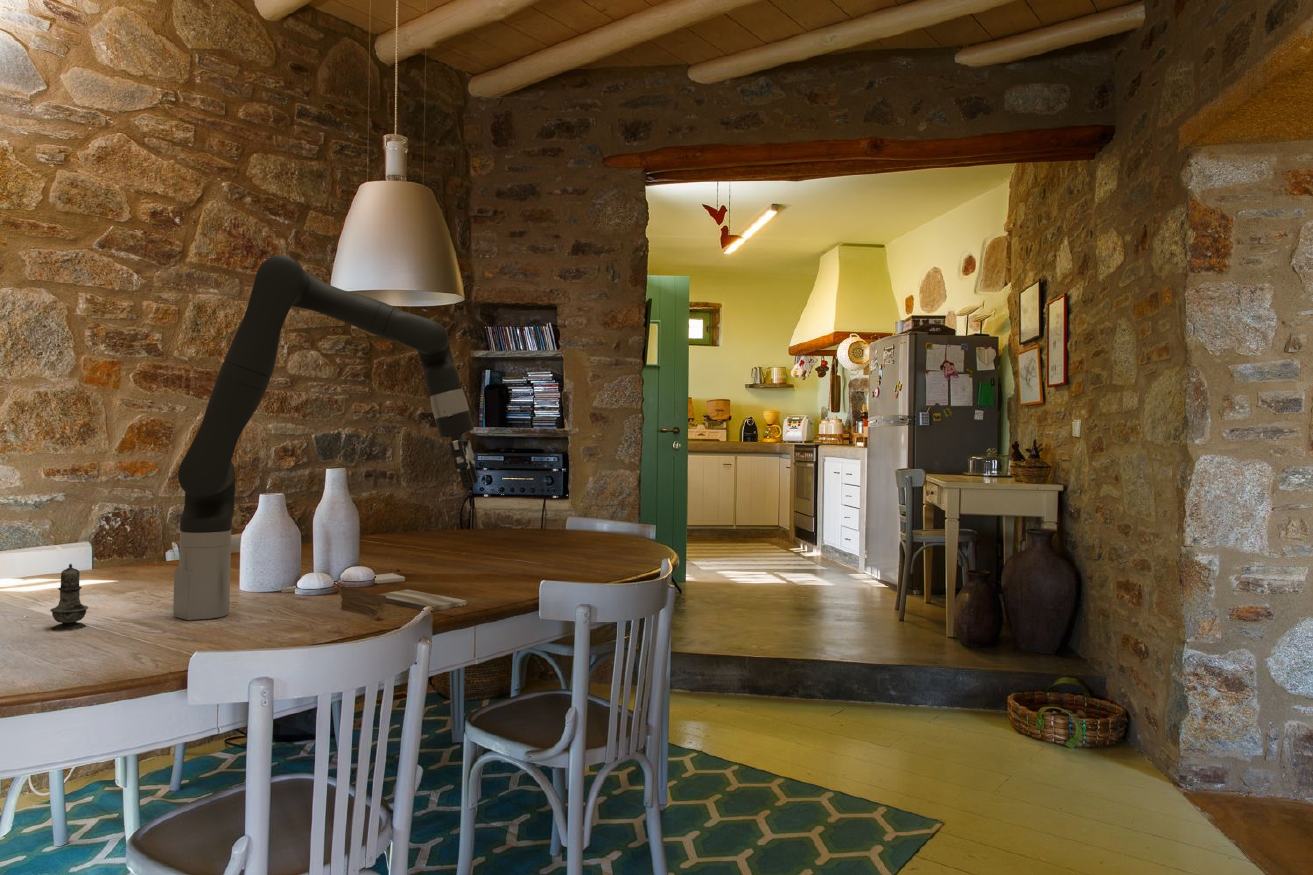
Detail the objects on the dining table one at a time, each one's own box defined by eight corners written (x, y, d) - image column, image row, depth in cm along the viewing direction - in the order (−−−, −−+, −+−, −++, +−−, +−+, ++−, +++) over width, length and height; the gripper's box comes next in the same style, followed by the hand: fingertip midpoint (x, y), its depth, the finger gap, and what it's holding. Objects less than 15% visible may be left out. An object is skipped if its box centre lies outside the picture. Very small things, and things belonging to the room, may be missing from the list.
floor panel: (431, 611, 182) (431, 607, 182) (371, 599, 193) (371, 595, 193) (466, 604, 190) (466, 600, 190) (406, 593, 202) (407, 589, 202)
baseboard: (268, 588, 207) (282, 595, 199) (269, 576, 207) (282, 582, 199) (389, 577, 227) (405, 582, 219) (389, 566, 226) (405, 571, 219)
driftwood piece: (335, 610, 182) (335, 586, 182) (343, 609, 183) (344, 585, 183) (377, 621, 172) (378, 596, 172) (386, 619, 174) (387, 595, 174)
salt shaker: (55, 624, 162) (56, 561, 162) (91, 623, 164) (93, 560, 164) (45, 631, 156) (47, 566, 156) (83, 630, 159) (84, 565, 159)
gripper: (439, 416, 192) (458, 486, 193) (429, 418, 178) (449, 493, 179) (472, 408, 192) (491, 477, 193) (464, 409, 178) (485, 484, 179)
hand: (471, 485), depth 186 cm, fingers open, 8 cm apart
